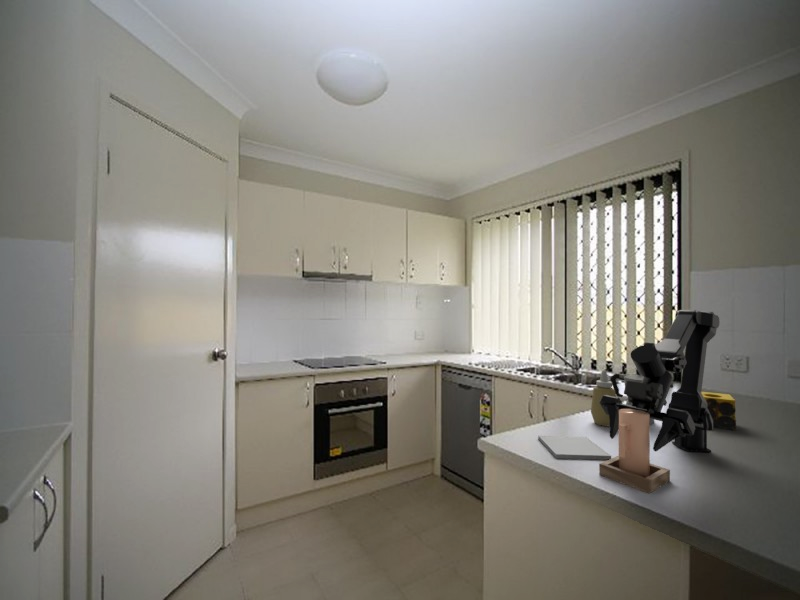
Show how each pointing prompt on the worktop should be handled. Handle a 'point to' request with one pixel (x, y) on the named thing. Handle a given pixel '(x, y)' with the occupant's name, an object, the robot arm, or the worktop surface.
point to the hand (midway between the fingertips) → (631, 443)
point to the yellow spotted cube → (721, 410)
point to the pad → (573, 447)
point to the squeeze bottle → (598, 392)
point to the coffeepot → (634, 378)
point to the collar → (644, 484)
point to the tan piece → (634, 441)
